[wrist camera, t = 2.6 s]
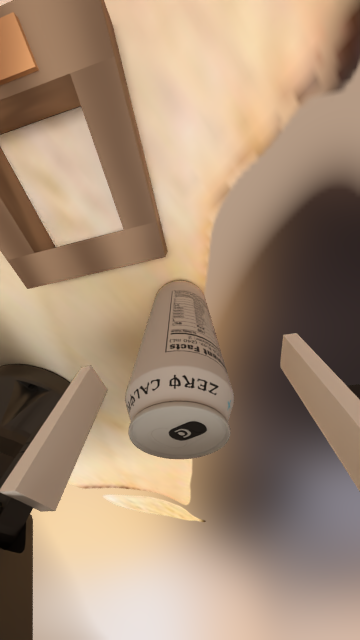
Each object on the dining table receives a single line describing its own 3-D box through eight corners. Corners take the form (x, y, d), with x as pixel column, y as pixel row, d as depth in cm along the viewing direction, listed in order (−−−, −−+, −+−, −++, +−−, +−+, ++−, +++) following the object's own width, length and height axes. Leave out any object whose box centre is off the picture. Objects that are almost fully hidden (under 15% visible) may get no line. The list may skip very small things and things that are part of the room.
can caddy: (47, 279, 20) (25, 290, 17) (-68, 95, 13) (-139, 61, 10) (167, 250, 18) (165, 257, 15) (111, 22, 11) (88, -43, 8)
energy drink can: (144, 298, 21) (87, 431, 8) (184, 266, 19) (193, 375, 6) (176, 330, 23) (171, 472, 10) (214, 305, 21) (265, 442, 9)
